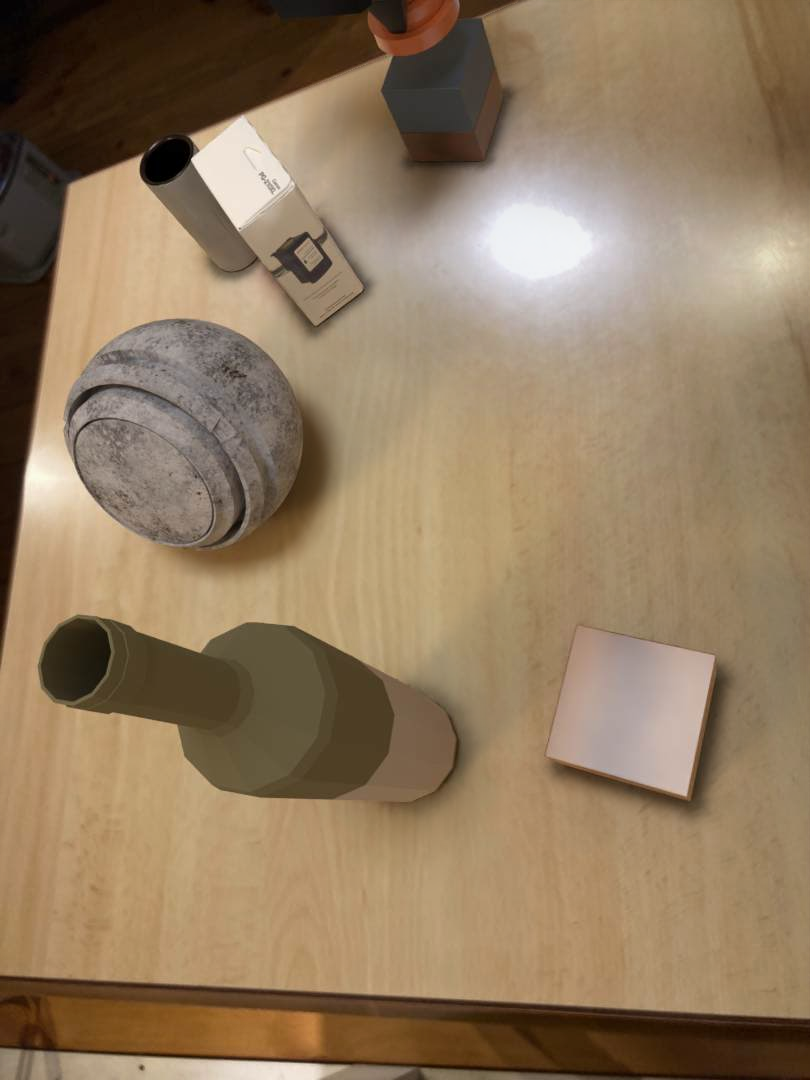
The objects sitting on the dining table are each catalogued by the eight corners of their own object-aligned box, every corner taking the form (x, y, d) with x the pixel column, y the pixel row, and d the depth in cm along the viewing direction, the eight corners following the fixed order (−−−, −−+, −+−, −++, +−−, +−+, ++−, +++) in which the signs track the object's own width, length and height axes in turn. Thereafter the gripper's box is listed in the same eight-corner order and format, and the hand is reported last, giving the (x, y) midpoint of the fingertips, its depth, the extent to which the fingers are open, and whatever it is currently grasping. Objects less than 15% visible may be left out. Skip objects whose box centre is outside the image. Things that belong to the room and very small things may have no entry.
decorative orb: (135, 558, 62) (-23, 485, 49) (189, 383, 66) (55, 269, 52) (311, 584, 57) (187, 508, 43) (359, 391, 60) (258, 266, 47)
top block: (495, 64, 61) (482, 16, 58) (474, 131, 60) (459, 88, 57) (421, 67, 64) (403, 22, 60) (399, 133, 62) (380, 90, 59)
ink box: (267, 261, 67) (184, 155, 56) (317, 222, 66) (242, 109, 56) (314, 329, 63) (235, 230, 53) (367, 289, 63) (298, 181, 52)
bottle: (354, 697, 53) (-13, 565, 26) (461, 681, 51) (181, 520, 24) (362, 813, 50) (-34, 799, 24) (474, 801, 49) (180, 770, 22)
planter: (209, 242, 70) (132, 153, 61) (255, 215, 69) (185, 121, 60) (222, 281, 68) (145, 196, 59) (270, 254, 67) (199, 163, 58)
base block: (504, 96, 64) (495, 64, 61) (484, 161, 63) (474, 131, 60) (432, 98, 66) (421, 67, 64) (411, 161, 65) (399, 133, 62)
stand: (716, 674, 46) (716, 654, 41) (690, 801, 45) (687, 798, 39) (591, 645, 49) (576, 623, 44) (562, 764, 48) (543, 756, 42)
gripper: (231, -378, 46) (344, -96, 60) (110, -116, 42) (261, 121, 56) (417, -435, 41) (491, -116, 55) (302, -149, 37) (414, 117, 51)
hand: (410, 0), depth 54 cm, fingers closed on cone, 5 cm apart
